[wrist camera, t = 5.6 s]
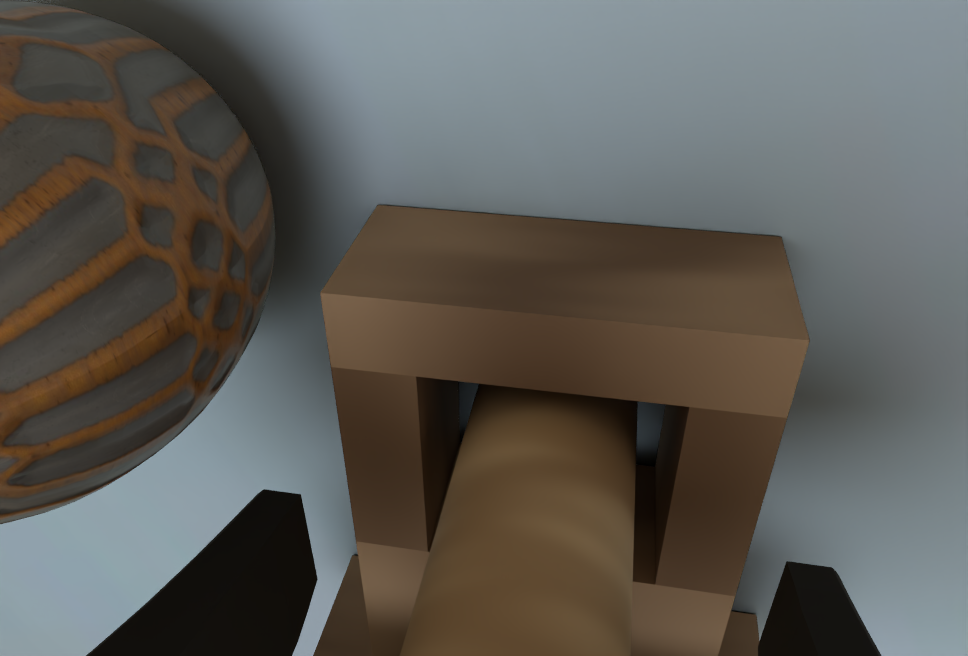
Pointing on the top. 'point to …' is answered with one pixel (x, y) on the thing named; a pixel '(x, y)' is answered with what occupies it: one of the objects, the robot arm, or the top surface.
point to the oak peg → (534, 531)
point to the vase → (115, 251)
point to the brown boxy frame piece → (566, 369)
